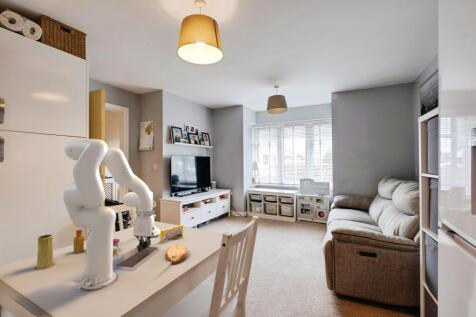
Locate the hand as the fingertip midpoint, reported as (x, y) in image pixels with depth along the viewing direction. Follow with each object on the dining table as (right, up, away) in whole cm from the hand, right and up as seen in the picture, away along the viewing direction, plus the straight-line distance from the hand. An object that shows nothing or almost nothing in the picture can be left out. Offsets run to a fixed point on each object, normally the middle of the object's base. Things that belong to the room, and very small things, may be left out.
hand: (143, 247), depth 119 cm
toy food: (-26, -4, +3) cm, 26 cm away
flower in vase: (-8, -4, +31) cm, 32 cm away
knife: (-1, 0, -6) cm, 6 cm away
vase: (-42, -3, -14) cm, 44 cm away
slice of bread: (+17, -4, 0) cm, 18 cm away
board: (-1, -4, -4) cm, 6 cm away
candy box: (+9, -4, +22) cm, 24 cm away
